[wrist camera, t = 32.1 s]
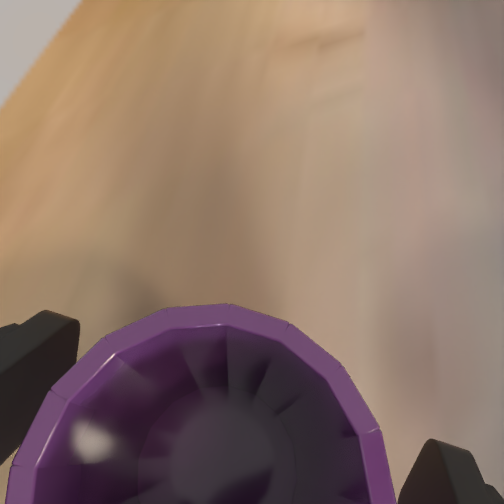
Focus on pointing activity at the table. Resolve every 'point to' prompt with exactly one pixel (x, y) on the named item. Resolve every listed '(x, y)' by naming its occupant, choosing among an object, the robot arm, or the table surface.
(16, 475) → the plum cup
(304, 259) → the table surface
